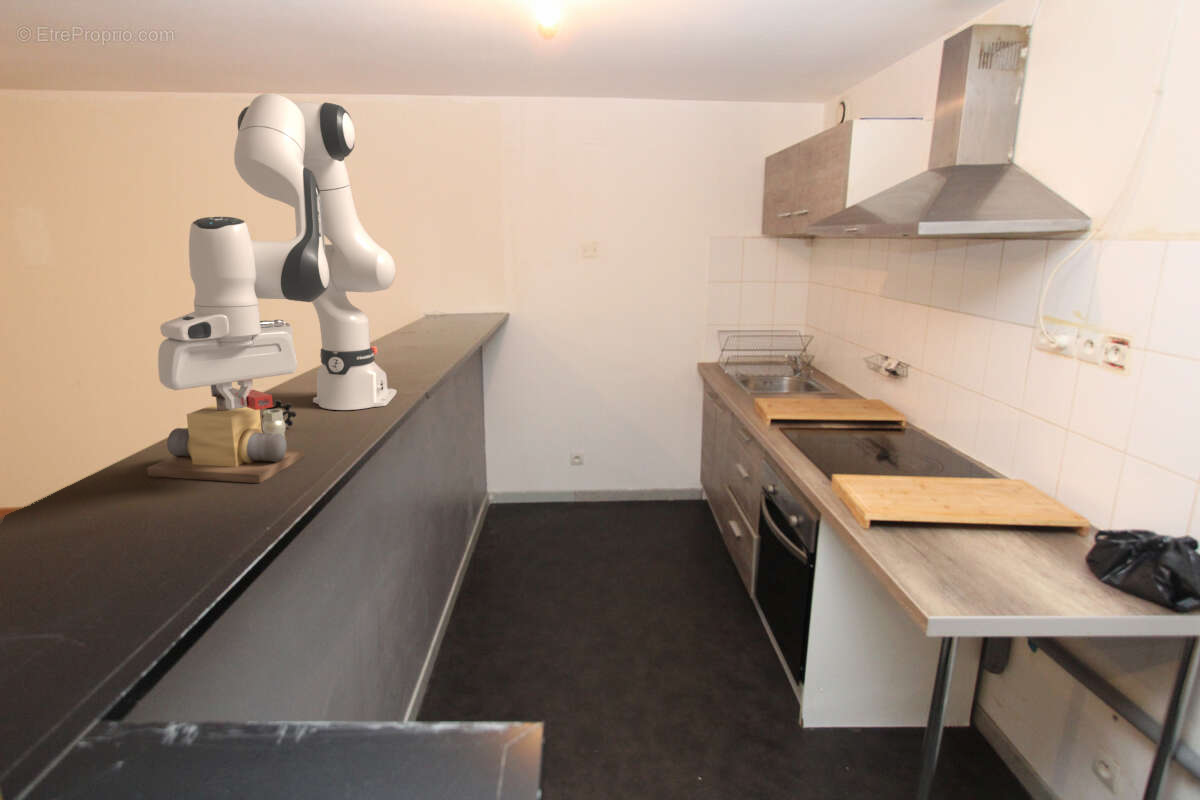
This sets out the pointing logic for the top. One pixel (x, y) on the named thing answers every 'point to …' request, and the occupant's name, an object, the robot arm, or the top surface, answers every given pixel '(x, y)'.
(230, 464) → the valve manifold
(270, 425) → the valve
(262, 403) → the valve lever
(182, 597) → the top surface
